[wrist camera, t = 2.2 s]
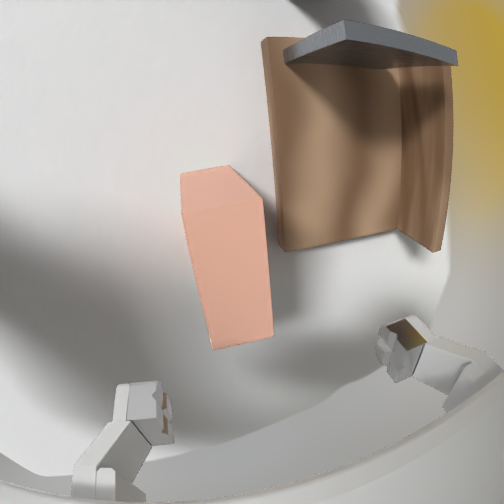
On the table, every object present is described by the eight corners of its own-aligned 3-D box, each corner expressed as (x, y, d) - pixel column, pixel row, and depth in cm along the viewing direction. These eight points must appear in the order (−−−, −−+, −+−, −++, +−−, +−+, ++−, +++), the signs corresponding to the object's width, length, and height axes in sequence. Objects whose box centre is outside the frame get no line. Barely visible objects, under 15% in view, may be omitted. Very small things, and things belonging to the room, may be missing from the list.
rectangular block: (198, 273, 24) (213, 352, 16) (179, 173, 20) (180, 213, 12) (242, 264, 24) (275, 337, 16) (229, 165, 20) (263, 198, 13)
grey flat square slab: (284, 63, 17) (346, 39, 10) (282, 49, 16) (343, 19, 9) (380, 69, 18) (458, 65, 11) (378, 57, 17) (456, 50, 10)
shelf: (279, 244, 24) (310, 286, 18) (260, 41, 17) (294, 15, 11) (395, 221, 26) (440, 250, 20) (394, 53, 19) (448, 48, 13)
